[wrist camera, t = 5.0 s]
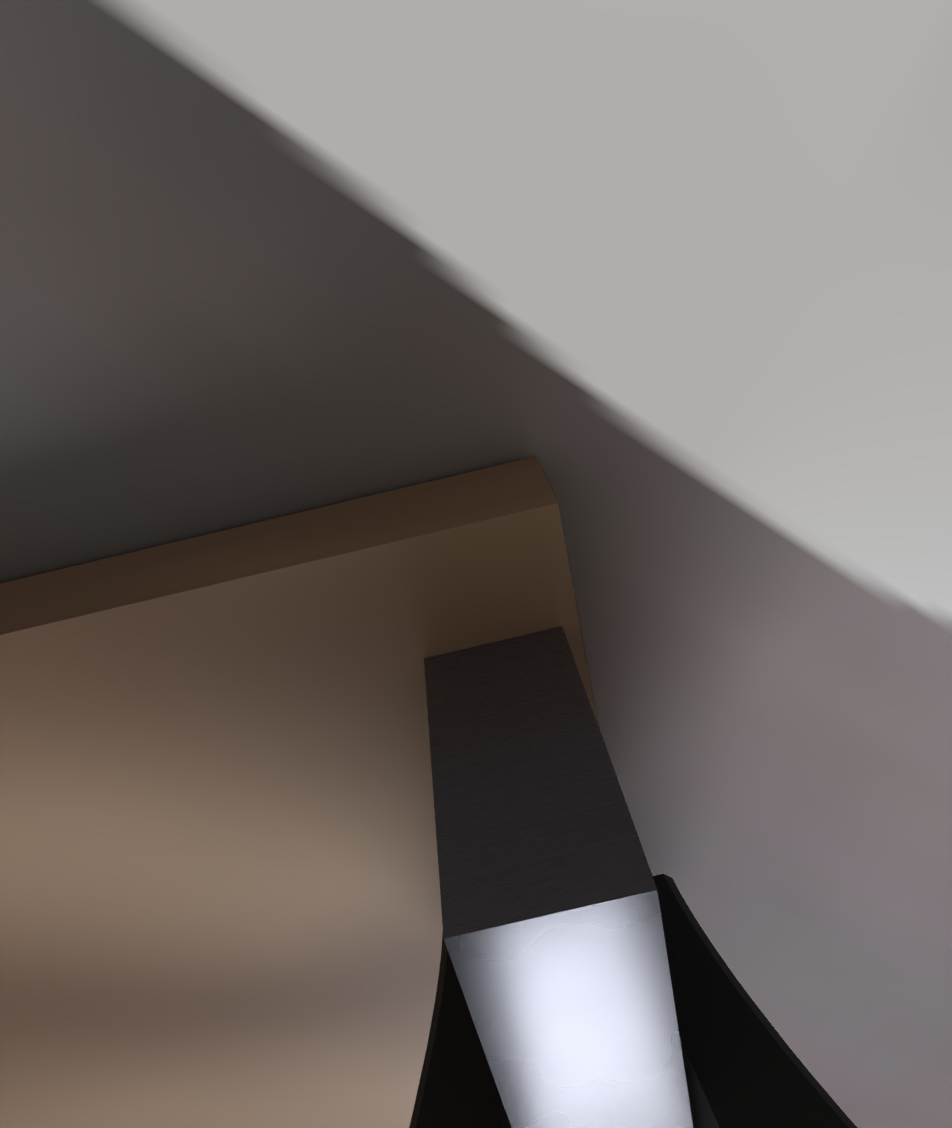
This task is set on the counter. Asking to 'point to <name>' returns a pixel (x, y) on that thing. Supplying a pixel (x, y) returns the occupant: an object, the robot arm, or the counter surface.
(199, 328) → the counter surface
